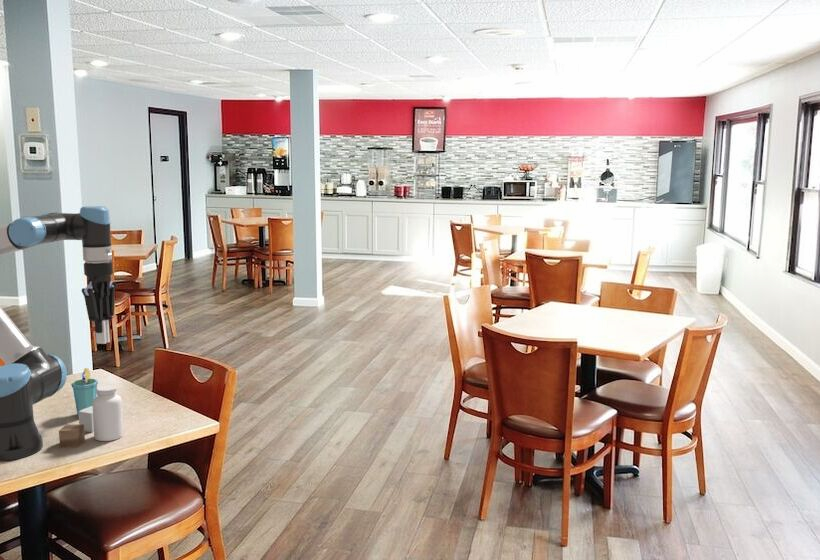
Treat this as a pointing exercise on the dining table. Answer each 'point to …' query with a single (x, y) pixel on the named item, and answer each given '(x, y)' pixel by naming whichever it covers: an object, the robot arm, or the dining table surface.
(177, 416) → the dining table surface
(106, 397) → the pill bottle
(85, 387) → the cup
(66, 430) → the walnut cube
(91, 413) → the white block
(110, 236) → the robot arm
